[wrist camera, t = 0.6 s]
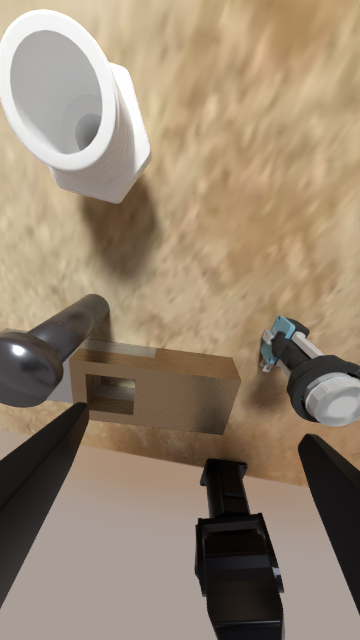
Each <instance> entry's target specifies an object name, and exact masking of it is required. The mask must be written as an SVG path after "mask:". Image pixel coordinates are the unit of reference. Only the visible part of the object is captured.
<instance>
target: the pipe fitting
mask: <svg viewBox="0 0 360 640" xmlns="http://www.w3.org/2000/svg"><path fill="white" fill-rule="evenodd" d="M0 101H1V104H2V107H3V110H4V113H5V115H6V118H7V120H8V122H9V124H10V126H11V128H12V130H13V131H14V133H15V134H16V136H17V137H18V139H19V140H20V142H21V143H22V144H23V145H24V147H25V148H26V149H27V150H28V151H29V152H30V153H31V154H32V155H33V156H35V157H36V158H37V159H38V160H40V161H41V162H43V163H44V164H46V165H48V166H49V168H50V170H51V173H52V175H53V177H54V179H55V181H56V183H57V185H58V186H59V187H61V188H63V189H65V190H68V191H70V192H74V193H78V194H81V195H85V196H89V197H92V198H96V199H100V200H104V201H107V202H111V203H115V204H118V203H120V202H122V200H123V199H124V197H125V196H126V195H127V193H128V192H129V190H130V189H131V188H132V186H133V185H134V183H135V182H136V181H137V179H138V178H139V176H140V175H141V174H142V172H143V171H144V170H145V168H146V167H147V165H148V164H149V163H150V161H151V159H152V151H151V147H150V144H149V140H148V137H147V133H146V129H145V126H144V122H143V119H142V115H141V111H140V108H139V104H138V101H137V97H136V93H135V90H134V86H133V83H132V80H131V77H130V75H129V72H128V71H127V70H126V68H124V67H122V66H119V65H116V64H113V63H110V62H108V61H107V59H106V57H105V55H104V53H103V51H102V50H101V48H100V47H99V45H98V44H97V42H96V41H95V40H94V39H93V37H92V36H91V35H90V34H89V33H88V32H87V31H86V30H85V29H84V28H83V27H82V26H81V25H80V24H78V23H77V22H76V21H74V20H73V19H71V18H70V17H68V16H66V15H64V14H61V13H59V12H56V11H51V10H33V11H30V12H27V13H25V14H23V15H21V16H20V17H18V18H17V19H16V20H15V21H14V22H13V23H12V24H11V25H10V26H9V27H8V29H7V31H6V32H5V34H4V36H3V38H2V40H1V43H0Z"/></svg>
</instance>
